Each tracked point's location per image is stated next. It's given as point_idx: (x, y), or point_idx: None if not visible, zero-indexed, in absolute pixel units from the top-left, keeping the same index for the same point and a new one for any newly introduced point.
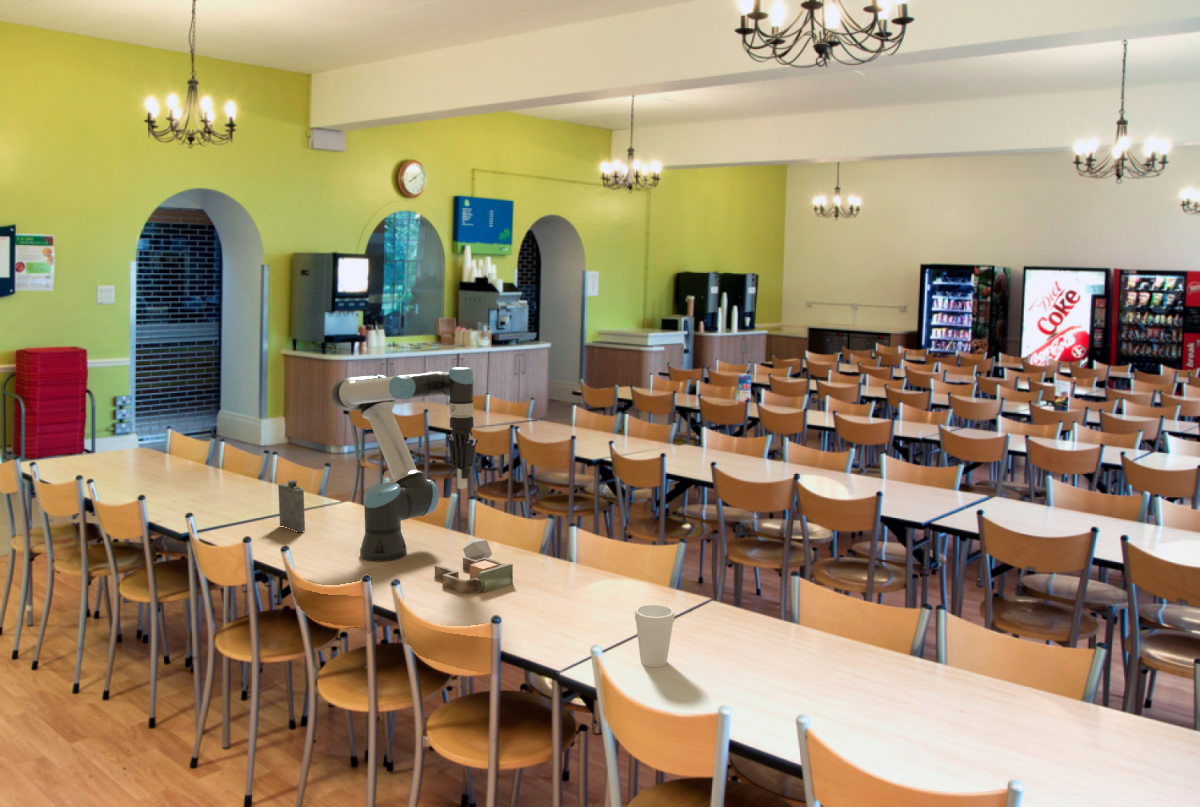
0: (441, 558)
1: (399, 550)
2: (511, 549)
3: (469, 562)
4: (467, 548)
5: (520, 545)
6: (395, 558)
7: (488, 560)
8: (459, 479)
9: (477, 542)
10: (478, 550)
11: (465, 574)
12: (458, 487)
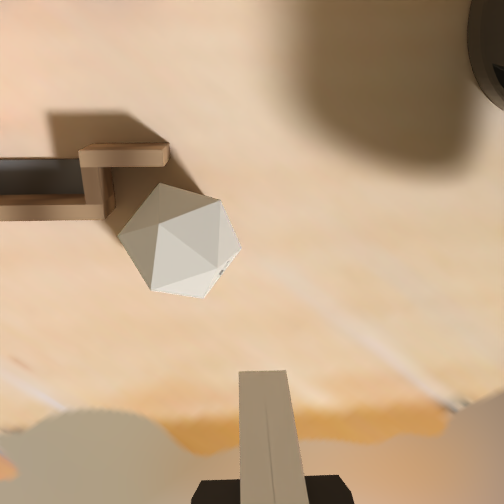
0: (333, 166)
1: (488, 29)
2: (230, 394)
3: (119, 148)
4: (188, 204)
5: None
6: (473, 4)
7: (63, 204)
8: (258, 448)
9: (153, 243)
10: (137, 222)
11: (97, 99)
12: (270, 377)
